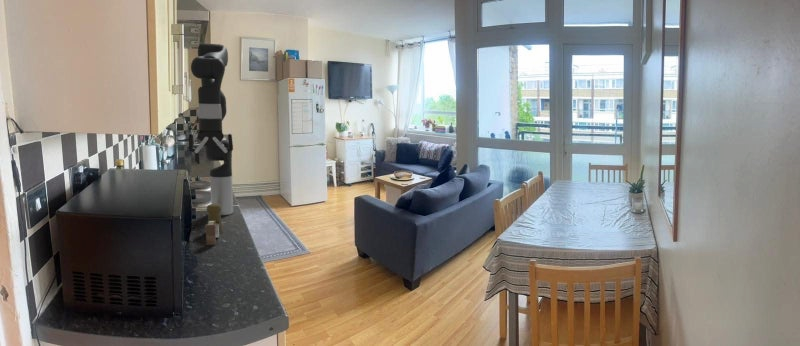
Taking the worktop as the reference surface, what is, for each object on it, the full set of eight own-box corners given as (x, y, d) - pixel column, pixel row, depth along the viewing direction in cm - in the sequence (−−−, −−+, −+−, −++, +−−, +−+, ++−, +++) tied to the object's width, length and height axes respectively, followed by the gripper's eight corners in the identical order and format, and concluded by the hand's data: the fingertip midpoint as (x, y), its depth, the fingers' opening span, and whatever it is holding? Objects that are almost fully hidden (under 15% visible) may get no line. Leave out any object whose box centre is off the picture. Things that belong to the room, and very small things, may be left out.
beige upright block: (207, 240, 168) (207, 221, 167) (216, 240, 169) (215, 220, 168) (206, 245, 163) (205, 225, 162) (215, 244, 164) (214, 224, 163)
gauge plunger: (207, 234, 174) (206, 218, 173) (219, 234, 175) (219, 217, 174) (206, 238, 170) (205, 221, 169) (219, 237, 171) (218, 220, 170)
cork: (225, 229, 182) (225, 202, 181) (218, 234, 176) (217, 206, 175) (211, 229, 183) (210, 202, 181) (203, 233, 177) (202, 205, 175)
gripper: (232, 116, 164) (233, 161, 167) (189, 116, 160) (191, 162, 163) (231, 117, 157) (233, 164, 160) (186, 117, 153) (188, 165, 155)
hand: (211, 163), depth 161 cm, fingers open, 8 cm apart
